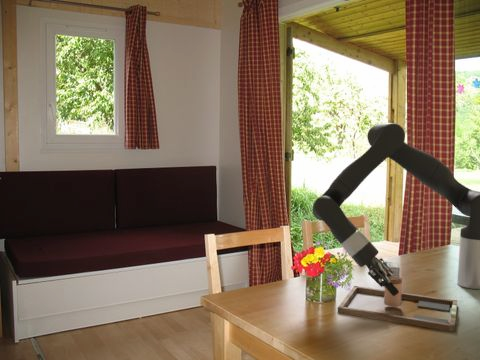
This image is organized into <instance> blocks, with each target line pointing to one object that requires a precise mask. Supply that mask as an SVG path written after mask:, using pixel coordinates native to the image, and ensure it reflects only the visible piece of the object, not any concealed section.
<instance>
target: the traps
mask: <svg viewBox="0 0 480 360" xmlns="http://www.w3.org/2000/svg"><path fill="white" fill-rule="evenodd" d="M450 307H451V306H450V304H444V303H437V302H430V301H424V300H419V301H418V304H417V308H419V309H420V308H421V309H427V310H433V311H438V312H447V313H449V312H450ZM413 318H417V319H423V320H429V321H435V322H441V323H448V324H449V322H448V321H449V320H448V319H444V318H439V317H438V318H437V317H432V316H426V315H420V314H419V315H418V314H414V315H413Z"/></svg>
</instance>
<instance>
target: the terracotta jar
mask: <svg viewBox="0 0 480 360" xmlns="http://www.w3.org/2000/svg"><path fill="white" fill-rule="evenodd" d="M387 277H388V279H389V280H390V282H391V283H392V284H393V285H394V286H395V287H396V288H397V289H398V290H399V292H398V294H396V295H395V296H393V295H392V294H391V293H390V292H389V291H388V290H387V289H386V287H384V290H385V293H384V296H383V299H384V300H383V303H384V305H386V306H387V307H391V308H397V307H401V306H402V299H401V296H402V293H403V278H402V277H397V276H387Z"/></svg>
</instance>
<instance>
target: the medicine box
mask: <svg viewBox="0 0 480 360" xmlns="http://www.w3.org/2000/svg"><path fill="white" fill-rule="evenodd" d="M384 262H385V263H386V264H387V266H388V267H389V268H390V269H391V271H392V272H393V276H397V277H400V275H401V273H400V272H401V268H400V265H399V263H398V262H397V261H388V260H387V261H384ZM400 278H401V277H400Z"/></svg>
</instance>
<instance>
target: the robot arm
mask: <svg viewBox="0 0 480 360" xmlns="http://www.w3.org/2000/svg"><path fill="white" fill-rule="evenodd" d="M405 140H406V133H405V130H404V128H403V127H402V126H401V125H400V124H398V123H395V122H394V123H393V122H386V123H378V124H375V125H373V126H371V127H370V128H369V130H368V132H367V142H368V143H369V145H370V147H369V148H368V149H367V150H366V151H365V152H364V153H363V154H362V155H360V157H358V158H357V159H355V160H354V161H352V162H351V163H350V164H348V166H346V167H345V168H344V169H343V170H342V171H341V172H340V173H339V174H338V175H337V177H335V179H334V180H333V181H332V183H330V185H329V187H328V189H327V190H326V191H325V192H324V193H323V194H322V195H321V196H319V197H317V198H316V199H315V201H314V202H313V204H312V209H311V210H312V214H313V217H315V219H317V220H318V221H322V222H324V223H325V225H326V226H327V227H328V228H329V230H330V233H331V235H332V236H333V237H334V238H335V240H337V242H339V244H340V245H341V247H342V248H343V249H344V250H345V252H346V253H347V254H348V255H349V257H351V258H352V260H353V261H354V262H355V263H356V265H358V266H359V268H362V267H364V266H366V267H367V269H368V272H367V274H368V276H369V277H371V279H373V280H374V282H376V283H377V284H378V286H379V287H381V288H382V287H384V288H385V287H386V289H387V290H388V291H389V292H390V293H391V294H392V295H393V296H395V295H396V294H398V292H399V290H398V289H397V288H396V287H395V286H394V285H393V284H392V283H391V282H390V280H389V279H388V277H387V276H393V272H392V271H391V269H390V268H389V267H388V266H387V264H386V263H385V262H386V261H385V260H384V259H383V258H382V257H381V258H378V257H377V255H378V254H379V250H378V249H377V247H375V245H374V244H372V242H371V240H369V239H368V238H367V237H366V235H364V233H362V232H361V231H360V230H359V229H358V228H357V227H356V226H355V225H354V223H353V222H352V221H351V220H350V219H349V218H348V216H346V214H345V213H344V211H343V209H342V208H341V206H342V205H343V203H344V202H345V201H346V200H347V199H348V198H349V197H350V196H352V195H353V193H354V192H355V191H356V190H357V188H359V186H360V185H361V184H362V183H363V182H364V181H365V180H366V178H367V177H368V176H369V175H370V174H371V173H372V172H374V170H376V168H378V167H379V166H380V165H381V164H382V163H383V162H384V161H386V159H390V160H392V161H394V162H395V163H396V164H397V165H399V166H400V167H401V168H403V170H405V171H406V172H408V173H409V174H410V175H411V176H412V177H414V178H416V179H417V180H418V181H419V182H421V184H423V185H425V186H426V187H427V188H429V189H431V190H432V191H434V192H435V193H436V194H438V195H439V196H441V197H443V198H445V199H446V200H447V201H448V202H449V203H450V204H451V205H452V206H453V207H455V209H457V210H458V211H459V213H461V214H462V215H464V216H466V217H469V220H468V225H467V226H463V227H461V229H460V234H459V251H458V266H457V267H458V269H457V285H458V286H460V287H462V288H467V289H472V290H480V191H478V190H473V189H471V188H468V187H467V186H465V185H464V184H462V183H461V182H459V180H457V179H456V177H454V174H453V173H452V171H451V169H450V168H449V167H448V166H447V165H446V164H445V163H443V162H442V161H440V160H439V159H438V158H437V157H435V156H433V155H432V154H430V153H428V152H426V151H424V150H421V149H419V148H417V147H414V146H412V145H410V144H408V143H406V142H405Z"/></svg>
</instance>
